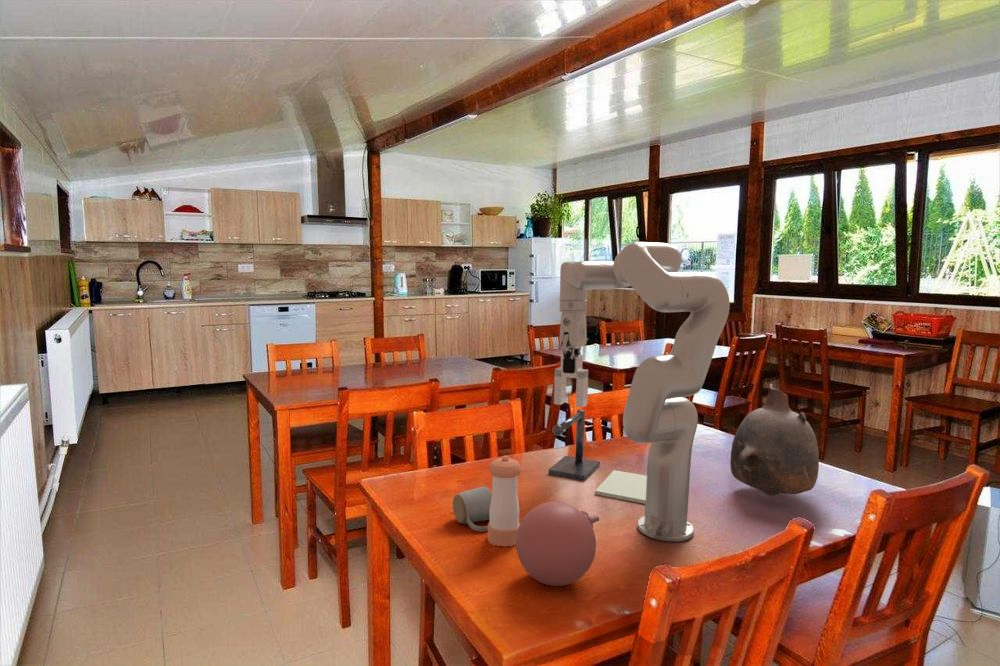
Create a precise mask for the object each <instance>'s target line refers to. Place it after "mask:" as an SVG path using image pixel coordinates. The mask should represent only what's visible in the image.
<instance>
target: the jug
mask: <svg viewBox="0 0 1000 666" xmlns="http://www.w3.org/2000/svg"><path fill="white" fill-rule="evenodd" d="M766 397H767V398H766V400H765V403H764V405H763V406H762V407H759V408H755V409H754V410H752V411H750V412H749V413H748V414H746V416H745V417H744V418H743V420H742V421H741V423H740V424H739V426H738V428H737V429H736V432H735V434H734V437H733V440H732V444H731V450H730V462H729V463H730V471H731V474H732V476H733V477H734V478H735V479H736V480H737V481H739V482H741V483H742V484H745V485H747V486H749V487H751V488H753V489H757V490H759V491H761V492H762V493H764V494H765V495H767V496H770V497H772V496H777V495H798V494H803V493H806V492H808V491H811V490H812V489H813V488H814V487H815V485H816V483H817V480H818V476H819V468H820V467H819V466H820V465H819V464H820V459H819V458H820V456H819V454H820V452H819V445H818V441H817V437H816V434H815V432H814V429H813V428H812V426H811V425H810V423H809V421H807V416H806V413H804V412H800V413H797V412H796V411H793V410H792V409H791V408H790V404H789V397H788V395H787V394H786V393H784V392H783V391H782V390H779V389H778V388H777V387H776V386H775V384H773V383H770V384H769V386H768V393H767V396H766Z"/></svg>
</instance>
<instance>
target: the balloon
mask: <svg viewBox="0 0 1000 666" xmlns="http://www.w3.org/2000/svg"><path fill="white" fill-rule="evenodd" d="M599 521H600V517H599V516H598V515H589V513H588V512H587V511H586V510H583V509H582V510H581V511H580V510H579V509H578V508H576V507H575V506H573V505H571V504H568V503H565V502H560V501H548V502H544V503H541V504H539V505H537V506H535V507H534V508H532V509H531V510H529V511H528V512H527V513H526V514H525V516H524V517H523V519H522V520H521V522H520V526H519V528H518V532H517V537H516V545H515V549H516V553H517V554H516V555H517V558H518V559H519V562H520V564H521V566H522V568H523V569H524V570H525V571H526V573H527V574H528V575H529V576H530V577H532V578H533V579H534V580H535V581H538V582H539V583H540V584H541V583H542V584H544V585H547V586H551V587H553V586H554V587H561V586H563V587H564V586H567V585H570V584H573V583H575V582H577V581H578V580H581V579H582V577H584V576H585V575H586V573H587V572H588V571H589V569H590V568H591V566H592V565H593V562H594V559H595V555H596V551H597V550H596V549H597V540H596V534H595V531H594V524H595V523H596V522H597V523H598V522H599Z"/></svg>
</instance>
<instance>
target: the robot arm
mask: <svg viewBox="0 0 1000 666" xmlns="http://www.w3.org/2000/svg"><path fill="white" fill-rule="evenodd" d="M681 265H682V256H681V253H680V251H679V249H677V248H676V247H675V246H674V245H672V244H669V243H666V242H657V241H655V242H653V241H652V242H651V241H649V242H648V241H634V242H631V243H628V244H627V245H625V246H624V247H623V248H622V249H621V250H620V252H619V253H618V254H617V255H616V256H615V258H614V260H612V261H611V260H610V261H607V260H584V261H583V260H581V261H564V262H563V263H561V265H560V269H559V270H560V273H559V274H560V275H559V276H560V279H559V312H560V313H561V315H560V325H559V326H560V327H559V346H560V348H561V352H562V355H563V373H571V374H573V373H574V368H575V359H573V358H574V354H577V355H582V352H581V351H582V348H583V347H585V345H587V342H588V341H587V337H588V335H587V333H588V331H587V315H586V313H587V312H588V311H587V310H588V309H587V308H588V291H591V290H592V291H593V290H616V289H623V288H628V287H631V288H632V289H633V290H634V291H635V293H636V294H638V296H639V297H640V298H641V299H642V300H643V301H644V302H645V303H646V305H647V306H648V307H650V308H651V309H653V310H655V311H657V312H660V313H681V312H683V313H684V312H685V313H686V312H690V314H689V315H688V317H687V318H686V319H685V321H683V323H682V324H681V325H680V327H679V329H678V331H677V332H676V335H675V337H674V340H673V341H674V342H673V344H672V348H671V349H670V351H669V352H668V353H667V354H663V355H654V356H650V357H648V358H646V359H644V360H642V362H641V363H640V364H639V365H638V367H637V368H636V370H635V372H634V374H633V378H632V381H631V384H630V388H629V392H628V396H627V398H626V402H625V406H624V410H623V416H622V417H623V418H622V425H623V430H624V433H625V434H626V436H627V437H628V438H629V439H630V440H631V442H634V443H637V444H649V443H650V444H649V445H650V446H649V448H648V453H647V465H646V476H647V480H646V501H645V504H644V516H641V517H640V518H639V519H638V520H637V529H638V531H640V532H641V534H643V535H645V536H646V537H649V538H652V539H654V540H658V541H663V542H673V543H675V542H682V541H687V540H689V539H690V538H693V535H694V530H695V529H694V526H693V525H692V523H690V522H689V521H688V514H689V513H688V512H689V497H690V496H689V495H690V494H689V492H690V478H691V477H690V476H691V467H692V466H691V464H692V463H691V462H692V453H693V452H692V451H693V443H694V439H695V435H696V432H697V427H698V422H699V417H698V416H699V414H698V411H697V408H696V406H695V404H694V403H693V402H692V401H691V400H690V399H688V398H686V397H691V396H694V395H696V394H698V393H699V392H700V391H701V390H702V388H703V385H704V383H705V380H706V377H707V375H708V372H709V368H710V366H711V363H712V360H713V357H714V354H715V351H716V350H715V349H716V348H717V347H716V346H717V344H718V341H719V339H720V337H721V334H722V332H723V330H724V328H725V325H726V323H727V320H728V317H729V313H730V305H731V303H730V297H729V292H728V289H727V287H726V285H725V284H724V283H723V281H722V280H721V279H720V278H719V277H717V276H715V275H713V274H710V273H709V272H700V271H679V270H680V268H681Z"/></svg>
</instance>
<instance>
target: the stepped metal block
mask: <svg viewBox="0 0 1000 666" xmlns="http://www.w3.org/2000/svg"><path fill="white" fill-rule="evenodd" d="M583 358H584V356H583V354H581V355H577V354H574V358H573V359H575V368H574V373H573V374H571V373H563V354H562V355H560V366H559V367H557V368H555V369H554V387H553V388H554V389H553V390H554V391H553V393H554V394H553V404H554V405H558V406H562V405H563V404H564V403H566V402H567V400H566V399H567V396H566V395H567V378H571V379H576V387H575V390H576V391H575V392H576V393H575V395H576V396H575V407H577V408H584V407H586V406H588V399H589V398H588V393H589V392H588V391H589V369H587V368H586V369H584V368H583Z"/></svg>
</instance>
